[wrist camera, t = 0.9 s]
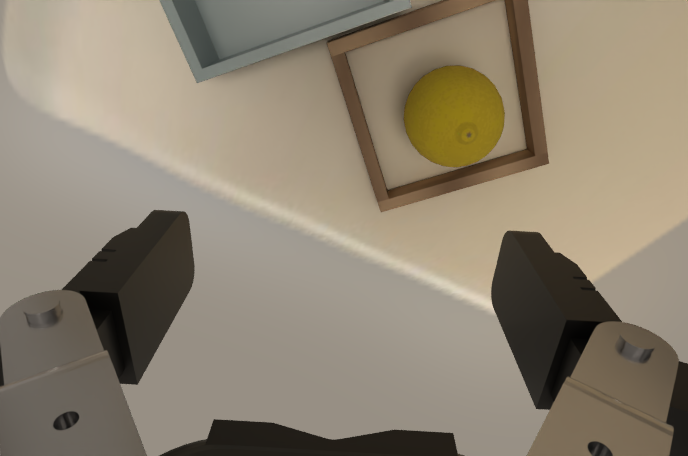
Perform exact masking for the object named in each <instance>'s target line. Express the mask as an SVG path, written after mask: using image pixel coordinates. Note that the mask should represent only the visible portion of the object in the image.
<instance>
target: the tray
mask: <svg viewBox="0 0 688 456" xmlns="http://www.w3.org/2000/svg"><path fill="white" fill-rule="evenodd" d="M492 1H494V0H443V1H440V2H437V3H434V4H432V5H429V6H426V7H423V8H420V9H417V10H414V11H412V12H409V13H406V14H403V15H400V16H397V17H395V18H392V19H389V20H386V21H383V22H380V23H377V24H375V25H372V26H369V27H366V28H363V29H360V30H358V31H355V32H352V33H349V34H346V35H343V36H340V37H338V38H335V39H332V40H329V41H328V42H327V45H328V48H329V51H330V54H331V57H332V61H333V64H334V67H335V70H336V73H337V76H338V79H339V82H340V86H341V89H342V92H343V95H344V98H345V101H346V104H347V108H348V111H349V114H350V117H351V120H352V123H353V126H354V129H355V133H356V136H357V139H358V142H359V145H360V148H361V151H362V155H363V158H364V161H365V164H366V167H367V170H368V173H369V176H370V180H371V183H372V186H373V189H374V192H375V195H376V198H377V202H378V205H379V208H380V211H381V212H383V211H387V210H390V209H394V208H397V207H401V206H404V205H408V204H411V203H414V202H418V201H421V200H425V199H428V198H432V197H435V196H439V195H442V194H446V193H449V192H452V191H456V190H459V189H463V188H466V187H470V186H473V185H477V184H480V183H484V182H487V181H490V180H494V179H497V178H501V177H504V176H508V175H511V174H515V173H518V172H522V171H525V170H528V169H532V168H535V167H539V166H542V165H546V164H549V159H548V152H547V144H546V136H545V129H544V121H543V113H542V106H541V98H540V91H539V83H538V75H537V68H536V60H535V52H534V45H533V37H532V29H531V22H530V14H529V6H528V0H505V4H506V11H507V18H508V24H509V31H510V37H511V44H512V51H513V57H514V64H515V71H516V77H517V84H518V90H519V97H520V104H521V110H522V117H523V124H524V130H525V137H526V144H527V149H526V150H523V151H520V152H516V153H513V154H509V155H506V156H503V157H499V158H496V159H493V160H489V161H486V162H482V163H479V164H476V165H472V166H469V167H466V168H462V169H459V170H455V171H452V172H449V173H445V174H442V175H438V176H435V177H432V178H428V179H425V180H422V181H418V182H415V183H411V184H408V185H405V186H401V187H398V188H395V189H391V190H388V191H387V189H386V185H385V182H384V179H383V175H382V172H381V169H380V166H379V162H378V159H377V156H376V152H375V149H374V146H373V143H372V139H371V136H370V133H369V130H368V126H367V123H366V120H365V116H364V113H363V110H362V107H361V103H360V100H359V97H358V94H357V90H356V87H355V84H354V80H353V77H352V74H351V71H350V67H349V64H348V61H347V57H346V54H345V52H347V51H350V50H353V49H356V48H358V47H361V46H364V45H367V44H370V43H373V42H376V41H379V40H382V39H385V38H387V37H390V36H393V35H396V34H399V33H402V32H405V31H408V30H411V29H413V28H416V27H419V26H422V25H425V24H428V23H431V22H434V21H437V20H440V19H442V18H445V17H448V16H451V15H454V14H457V13H460V12H463V11H466V10H468V9H471V8H474V7H477V6H480V5H483V4H486V3H489V2H492Z"/></svg>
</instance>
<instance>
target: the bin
mask: <svg viewBox="0 0 688 456" xmlns="http://www.w3.org/2000/svg"><path fill="white" fill-rule="evenodd" d="M160 3H161V5H162V7H163V9H164V11H165V14H166V16H167V18H168V20H169V22H170V25H171V27H172V29H173V31H174V33H175V36H176V38H177V40H178V42H179V44H180V47H181V49H182V51H183V53H184V55H185V58H186V60H187V62H188V64H189V66H190V69H191V71H192V73H193V75H194V77H195V80H196V82H197V83H199V82H202V81H205V80H208V79H210V78H213V77H216V76H219V75H222V74H225V73H227V72H230V71H233V70H236V69H239V68H242V67H244V66H247V65H250V64H253V63H256V62H259V61H261V60H264V59H267V58H270V57H273V56H276V55H278V54H281V53H284V52H287V51H290V50H293V49H295V48H298V47H301V46H304V45H307V44H310V43H312V42H315V41H318V40H321V39H324V38H327V37H330V36H332V35H335V34H338V33H341V32H344V31H347V30H349V29H352V28H355V27H358V26H361V25H364V24H366V23H369V22H372V21H375V20H378V19H381V18H383V17H386V16H389V15H392V14H395V13H398V12H400V11H403V10H406V9H409V8H412V7H411V2H410V0H160Z"/></svg>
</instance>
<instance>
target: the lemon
mask: <svg viewBox="0 0 688 456" xmlns="http://www.w3.org/2000/svg"><path fill="white" fill-rule="evenodd" d="M504 116H505V112H504V107H503V102H502V98H501V96H500V94H499V92H498V91H497V89H496V87H495V85H494V84H493V83H492V82H491V81H490V80H489V79H488V78H487V77H486V76H485V75H483V74H481V73H480V72H478V71H476V70H474V69H472V68H468V67H464V66H445V67H442V68H439V69H435V70H433V71H431V72H430V73H428V74H426V75H425V76H423V77H422V78H421V79H420V80H419V81H418V82H417V83H416V84H415V86H414V87H413V89H412V90H411V92H410V94H409V96H408V99H407V102H406V105H405V111H404V123H405V128H406V133H407V135H408V137H409V139H410V141H411V143H412V145H413V146H414V147H415V148H416V150H417V151H418V152H419V153H420V154H421V155H422V156H424V157H425V158H427V159H428V160H430V161H431V162H434V163H437V164H439V165H442V166H448V167H461V166H467V165H470V164H472V163H475V162H477V161H479V160H480V159H482V158H483V157H485V156H486V155H487V154H488V153H489V152H490V151H491V150H492V149H493V148H494V147H495V145H496V144H497V142H498V140H499V139H500V137H501V134H502V131H503V127H504Z"/></svg>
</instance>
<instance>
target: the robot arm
mask: <svg viewBox="0 0 688 456" xmlns="http://www.w3.org/2000/svg"><path fill="white" fill-rule="evenodd" d="M189 225H190V224H189V219H188V215H187V214H186V212H181V211H164V210H154V211H152V212H151V213H150V214H149V215H148V217H147V218H146V219H145V220H144V221H143V222H142V223H141V224H140V225H139V226H138V227H137V228H130V229H128V230H126V231H124V232H122V233H120V234H119V235H117V236H115V237H113V238H112V239H111V240H110V241H109V242H108V243H107V244H106V245H105V246H104V247H103V248H102V251H100V252H98V253H97V255H95V256H94V257H93V258H92V261H90V262H88V263H87V265H86V266H85V267H84V268H83V269H82V270H81V271H80V272H79V273H78V274H77V275H76V276H75V277H74V278H73V279H72V280H71V281H70V282H69V283H68V284H67V285H66V286H65V287H64V288H63V289H62V290H53V291H46V292H42V293H38V294H35V295H31V296H29V297H26V298H24V299H22V300H20V301H18V302H16V303H15V304H13V305H12V306H11V307H9V308H8V309H7V310H6V311H5V312H4V313H3V314H2V316H1V317H0V456H147V455H146V452H145V449H144V447H143V444H142V441H141V439H140V436H139V434H138V431H137V428H136V425H135V423H134V420H133V417H132V415H131V412H130V409H129V407H128V404H127V401H126V399H125V396H124V394H123V391H122V388H121V385H120V384H136V385H137V384H138V383H139V381H140V379H141V377H142V376H143V373H144V372H145V370H146V368H147V367H148V365H149V363H150V361H151V359H152V358H153V356H154V354H155V352H156V350H157V349H158V347H159V345H160V343H161V341H162V340H163V338H164V336H165V334H166V332H167V331H168V329H169V327H170V325H171V323H172V322H173V320H174V318H175V316H176V314H177V313H178V311H179V309H180V307H181V306H182V304H183V302H184V300H185V298H186V296H187V294H188V293H189V291H190V289H191V287H192V283H193V279H194V258H193V251H192V241H191V233H190V226H189ZM491 297H492V304H493V308H494V310H495V312H496V315H497V317H498V320H499V322H500V324H501V327H502V329H503V331H504V334H505V336H506V339H507V341H508V343H509V346H510V348H511V350H512V353H513V355H514V357H515V360H516V362H517V364H518V367H519V369H520V371H521V374H522V376H523V378H524V381H525V384H526V386H527V388H528V391H529V393H530V395H531V398H532V400H533V402H534V405H535V407H536V409H548V410H550V411H549V413H548V415H547V417H546V419H545V421H544V423H543V425H542V427H541V429H540V430H539V432H538V434H537V436H536V438H535V440H534V442H533V444H532V446H531V448H530V450H529V452H528V454H527V456H688V364H687V363H683V362H680V361H679V359H678V356H677V354H676V352H675V350H674V349H673V348H672V347H671V346H670V345H669V344H668V343H667V342H666V341H664V340H663V339H662V338H661V337H659V336H657V335H656V334H654V333H652V332H650V331H649V330H646V329H644V328H642V327H639V326H636V325H633V324H629V323H624V322H622V321H621V320H620V319H619V317H618V316H617V315H616V313H615V312H614V311H613V310H612V308H611V307H610V306H609V305H608V303H607V302H606V301H605V300H604V298H603V297H602V296H601V294H600V293H599V292H598V291H595V287H594V286H593V284H592V283H591V282H590V281H589V280H587V277H586V275H585V274H584V273H583V272H582V270H581V269H580V268H579V267H578V265H577V264H575V263H574V262H572V261H571V260H570V259H568V258H567V257H565V256H564V255H562V254H561V253H554V251H553V250H552V249H551V247H550V246H549V245H548V243H547V242H546V241H545V239H544V238H543V237H542V235H541V234H540V233H538V232H522V231H507V232H506V233H505V235H504V237H503V240H502V244H501V248H500V252H499V257H498V261H497V265H496V269H495V273H494V278H493V282H492V289H491ZM160 456H464V455H460V454H457V449H456V444H455V440H454V435H453V433H442V432H424V431H423V432H422V431H407V430H390V431H384V432H379V433H373V434H367V435H361V436H356V437H350V438H344V439H337V440H331V439H326V438H322V437H319V436H316V435H312V434H309V433H306V432H302V431H299V430H295V429H292V428H288V427H285V426H282V425H278V424H275V423H267V422H250V421H233V420H231V421H230V420H215V419H214V421H213V423H212V426H211V430H210V433H209V435H208V438H207V439H206V440H201V441H197V442H193V443H189V444H186V445H183V446H180V447H178V448H175V449H173V450H170V451H168V452H166V453H164V454H162V455H160Z"/></svg>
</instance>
